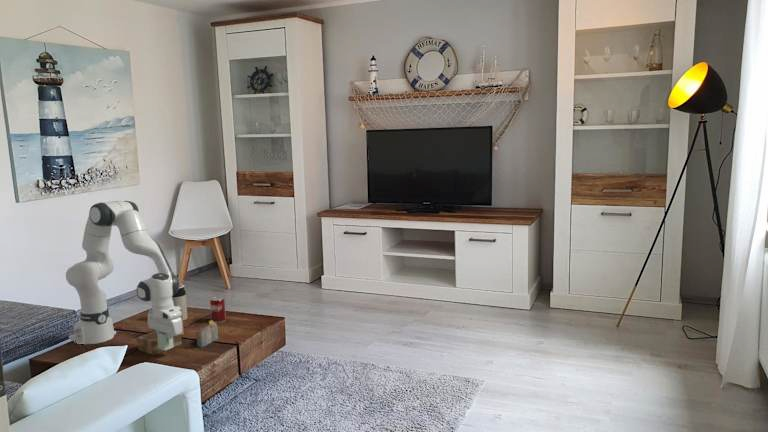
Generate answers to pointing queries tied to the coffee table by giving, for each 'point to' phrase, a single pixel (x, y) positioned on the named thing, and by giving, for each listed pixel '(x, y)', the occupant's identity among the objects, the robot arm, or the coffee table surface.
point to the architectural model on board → (207, 334)
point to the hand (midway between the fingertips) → (165, 341)
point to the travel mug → (181, 301)
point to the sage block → (164, 341)
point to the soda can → (218, 309)
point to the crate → (154, 343)
